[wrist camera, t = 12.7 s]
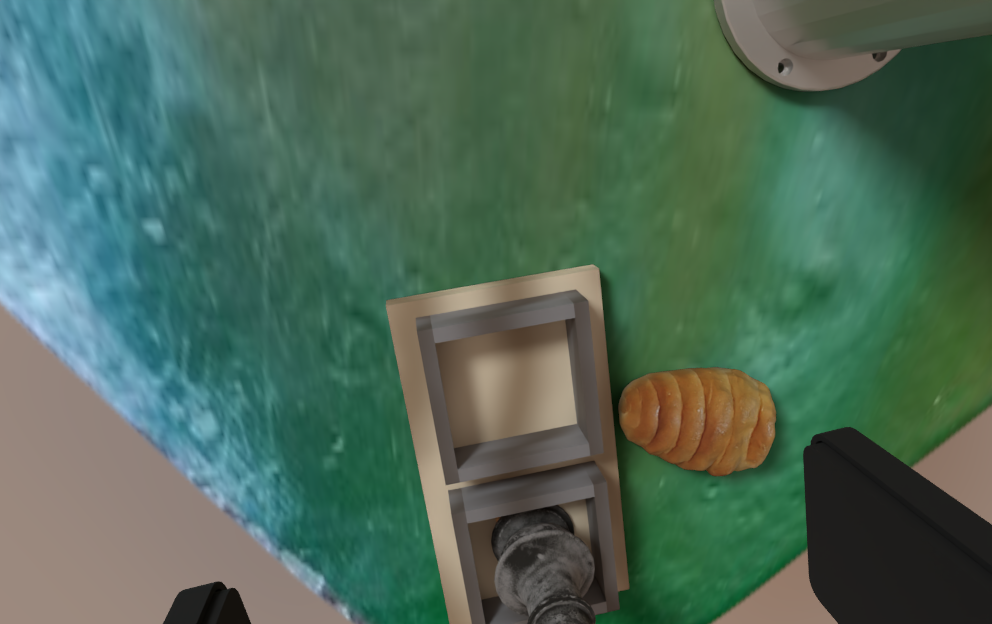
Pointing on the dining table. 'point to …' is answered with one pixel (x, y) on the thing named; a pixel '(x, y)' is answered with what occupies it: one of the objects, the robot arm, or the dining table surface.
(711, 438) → the pastry
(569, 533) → the salt shaker
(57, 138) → the dining table surface
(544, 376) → the collar board
